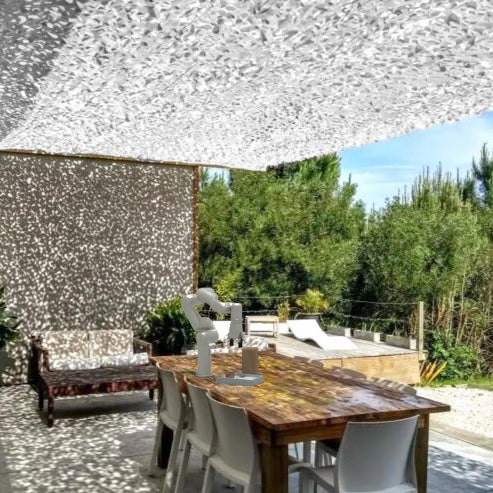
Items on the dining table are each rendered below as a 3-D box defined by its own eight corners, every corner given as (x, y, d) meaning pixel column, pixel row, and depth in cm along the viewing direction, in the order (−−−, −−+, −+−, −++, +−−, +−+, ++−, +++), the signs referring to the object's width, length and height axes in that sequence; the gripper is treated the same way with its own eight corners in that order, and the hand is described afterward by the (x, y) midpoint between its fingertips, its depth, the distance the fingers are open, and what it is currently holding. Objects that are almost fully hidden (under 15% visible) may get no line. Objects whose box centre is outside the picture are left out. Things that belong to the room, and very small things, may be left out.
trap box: (215, 382, 419) (215, 376, 419) (228, 378, 435) (228, 372, 435) (252, 386, 407) (252, 380, 407) (263, 381, 423) (263, 375, 423)
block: (255, 377, 437) (255, 348, 438) (241, 377, 439) (241, 348, 440) (258, 375, 447) (258, 346, 448) (244, 374, 449) (244, 346, 450)
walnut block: (225, 377, 423) (225, 373, 424) (228, 376, 428) (228, 372, 428) (231, 378, 421) (231, 373, 422) (234, 377, 426) (234, 372, 426)
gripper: (224, 320, 432) (223, 345, 432) (239, 323, 419) (239, 349, 419) (233, 320, 437) (232, 344, 437) (248, 322, 424) (248, 348, 423)
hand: (235, 346), depth 428 cm, fingers open, 9 cm apart
